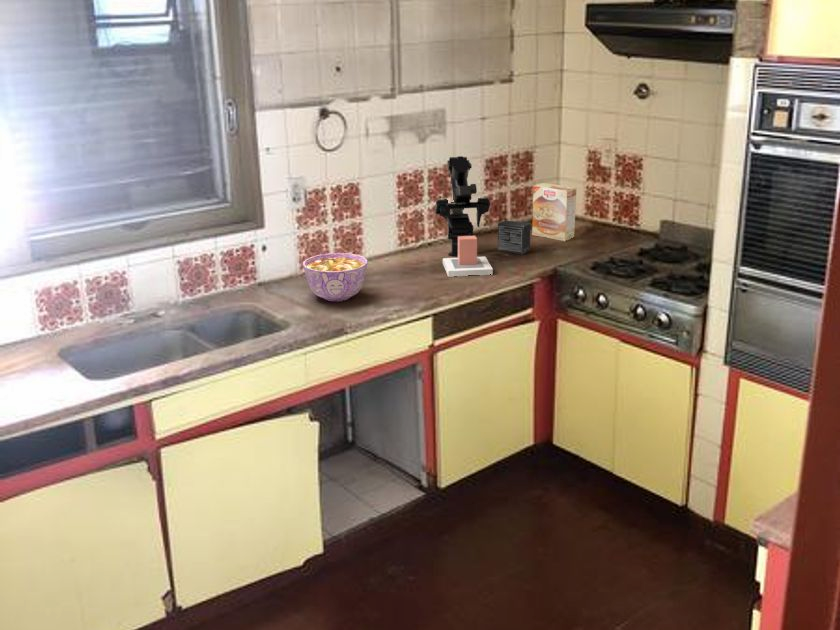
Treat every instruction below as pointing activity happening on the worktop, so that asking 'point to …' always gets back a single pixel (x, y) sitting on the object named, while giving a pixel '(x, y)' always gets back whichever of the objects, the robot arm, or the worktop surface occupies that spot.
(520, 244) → the small box
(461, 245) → the slim brick
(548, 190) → the coffeecake box
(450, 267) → the base plate
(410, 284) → the worktop surface
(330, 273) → the bowl of food
